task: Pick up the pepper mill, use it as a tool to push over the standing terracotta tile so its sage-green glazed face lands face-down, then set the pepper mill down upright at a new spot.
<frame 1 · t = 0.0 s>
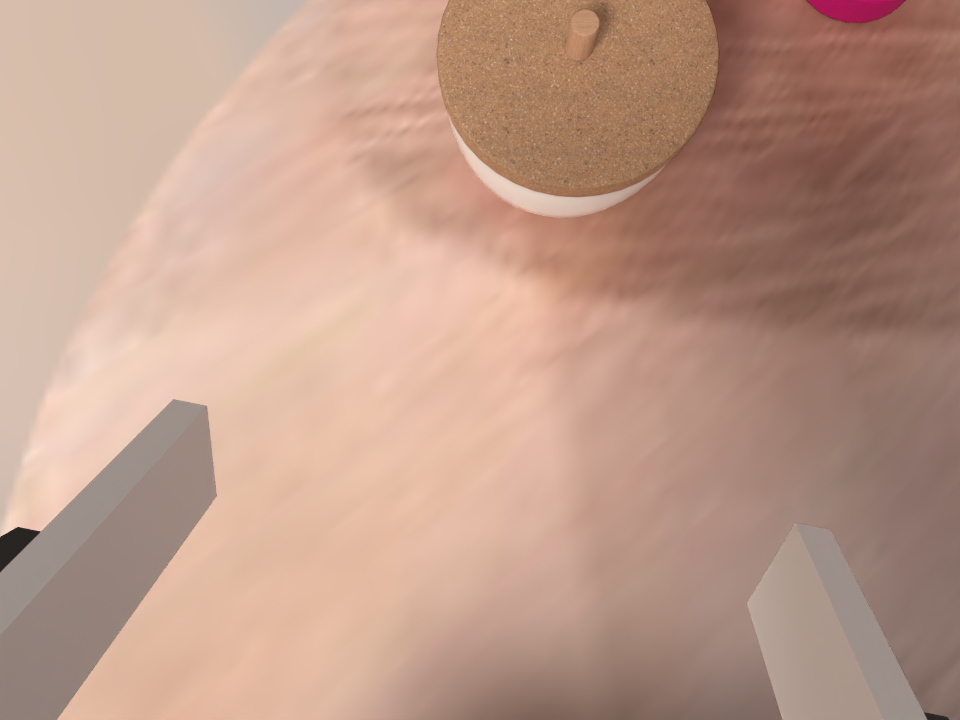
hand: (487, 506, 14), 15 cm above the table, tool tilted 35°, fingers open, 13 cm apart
lidded jar: (554, 144, 30), on the table
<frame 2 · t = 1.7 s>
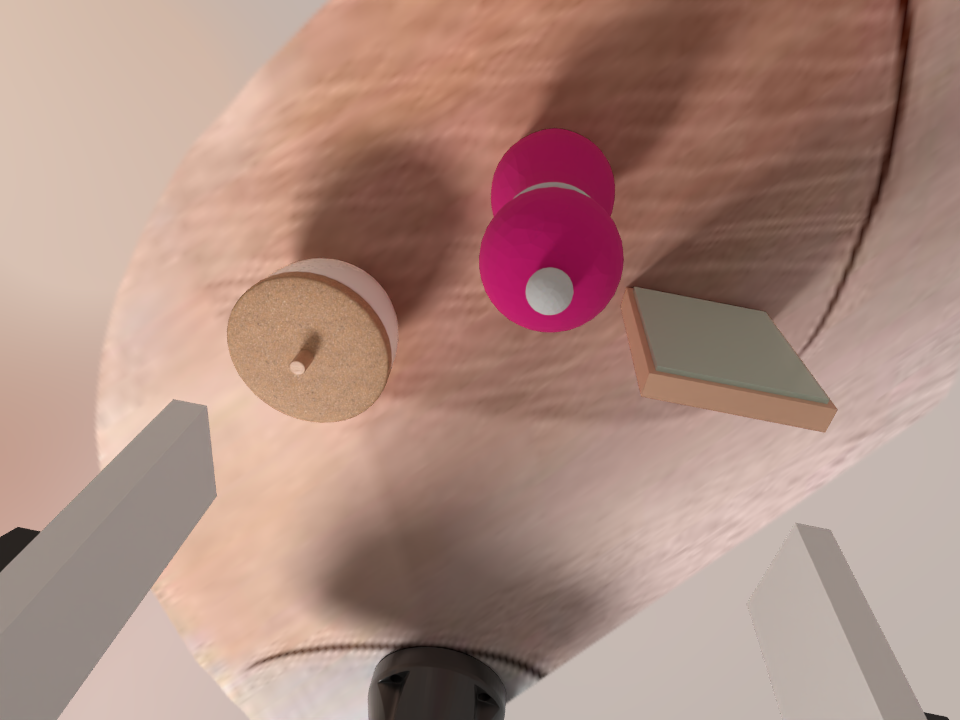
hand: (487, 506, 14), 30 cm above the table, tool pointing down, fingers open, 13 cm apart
tile: (693, 310, 42), on the table
lidded jar: (344, 305, 45), on the table
pepper mill: (552, 178, 39), on the table
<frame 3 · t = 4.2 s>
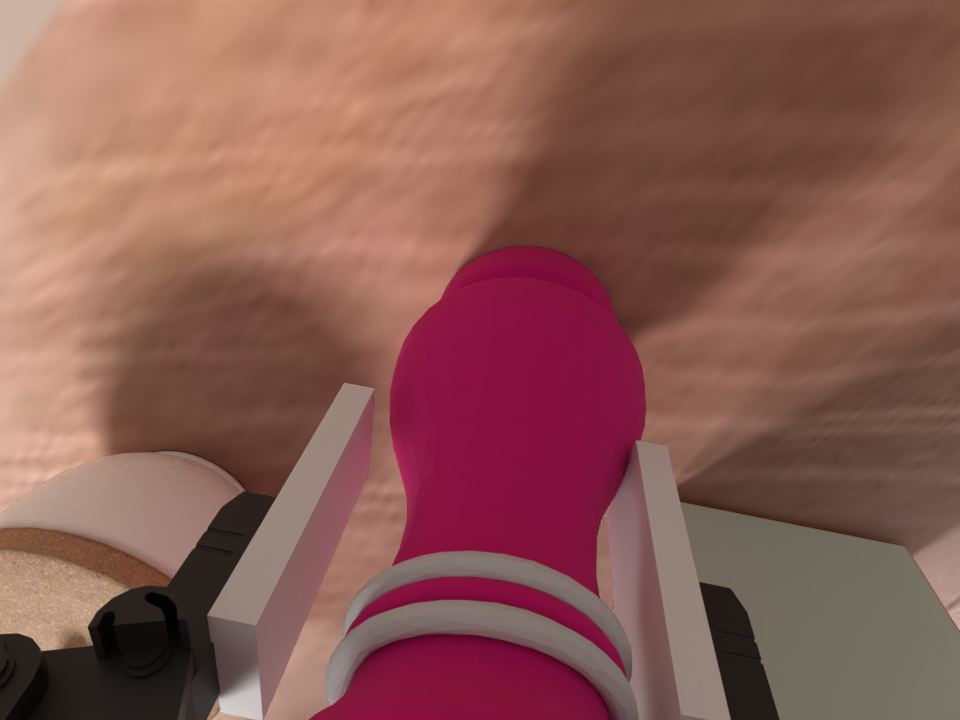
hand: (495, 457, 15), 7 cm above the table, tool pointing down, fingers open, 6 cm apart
tile: (773, 534, 24), on the table
lidded jar: (194, 499, 28), on the table
pepper mill: (525, 327, 21), on the table, touching gripper
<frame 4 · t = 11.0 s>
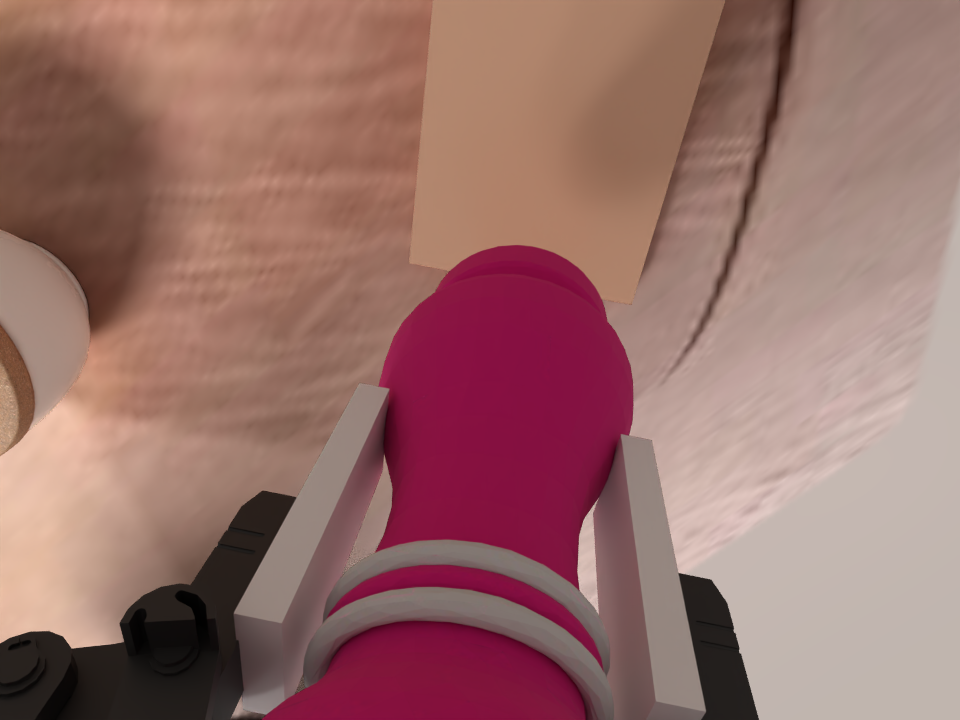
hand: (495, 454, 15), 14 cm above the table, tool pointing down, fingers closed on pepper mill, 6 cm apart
tile: (520, 277, 27), point 1 cm above the table, tilted 90°
lidded jar: (35, 291, 32), on the table
pepper mill: (517, 325, 21), point 7 cm above the table, touching gripper
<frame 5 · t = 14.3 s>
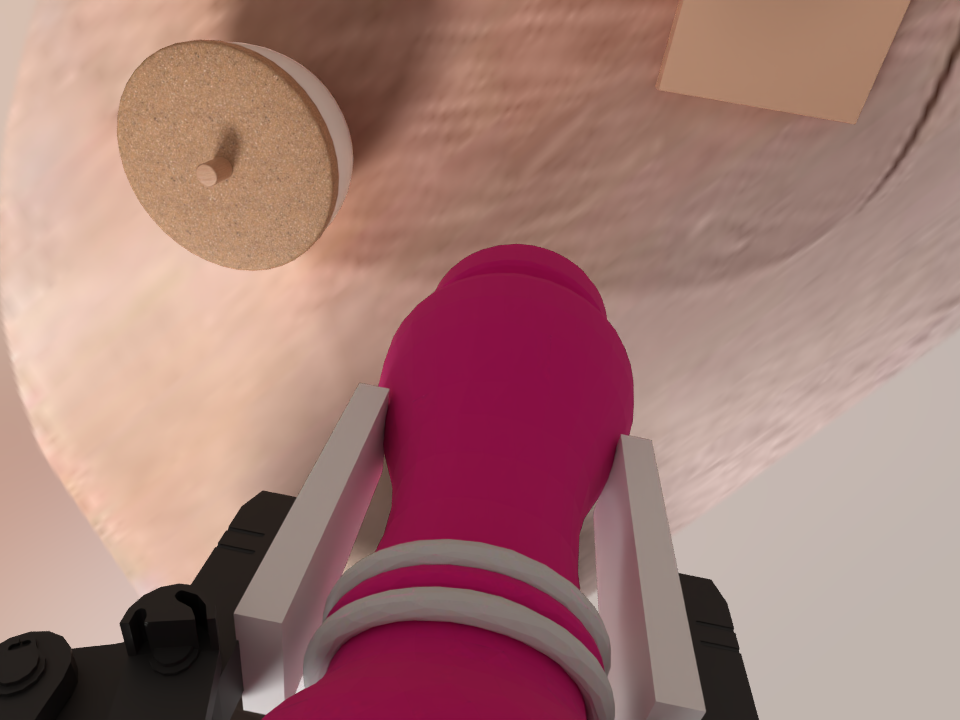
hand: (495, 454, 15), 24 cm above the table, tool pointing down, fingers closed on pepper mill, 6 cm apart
tile: (752, 105, 31), point 1 cm above the table, tilted 90°
lidded jar: (289, 136, 35), on the table
pepper mill: (517, 325, 21), point 16 cm above the table, touching gripper
when the fingers open (8 cm above the table, at t = 17.2 s): pepper mill drops 1 cm, on the table.
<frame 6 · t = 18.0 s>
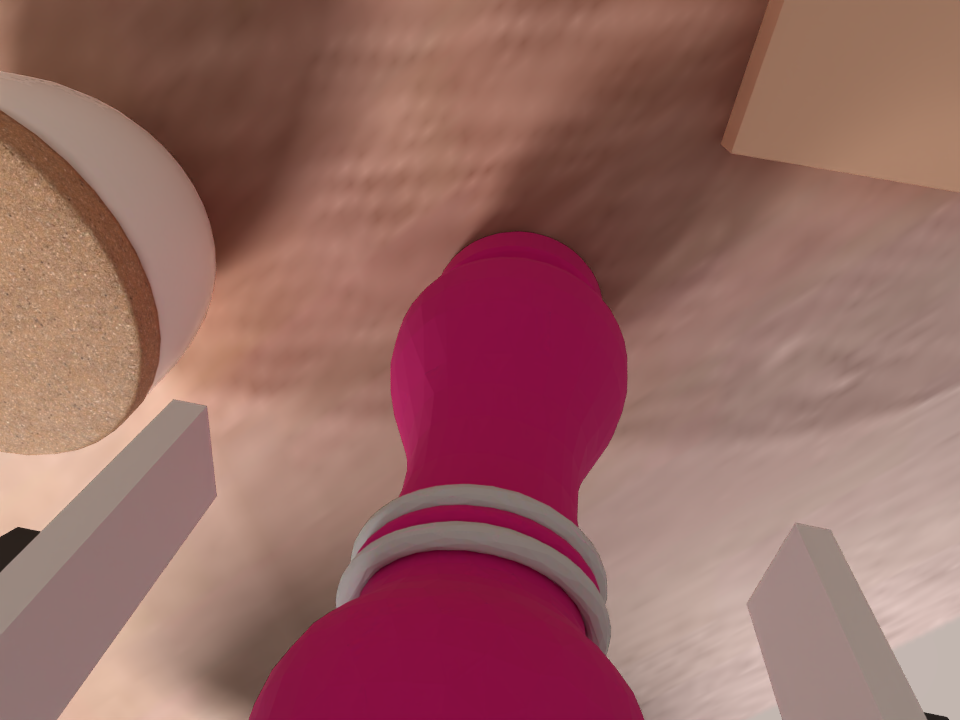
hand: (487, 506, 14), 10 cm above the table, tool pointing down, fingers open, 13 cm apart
tile: (891, 176, 18), point 1 cm above the table, tilted 90°
lidded jar: (129, 210, 22), on the table
pepper mill: (517, 308, 22), on the table
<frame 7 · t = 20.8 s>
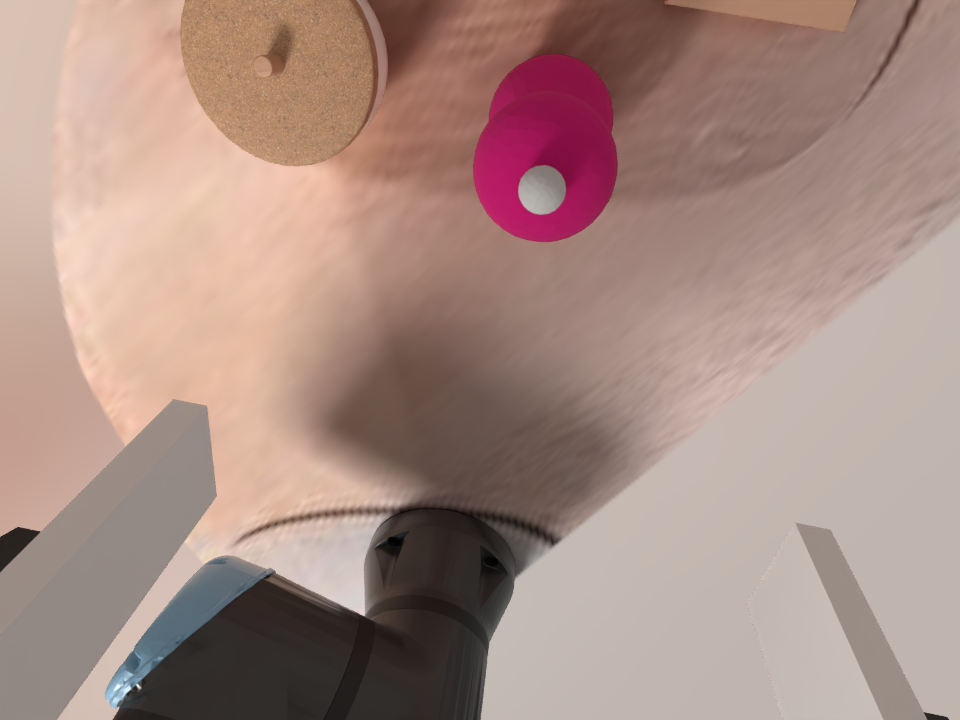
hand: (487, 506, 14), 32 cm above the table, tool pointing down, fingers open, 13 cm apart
tile: (751, 17, 34), point 1 cm above the table, tilted 90°
lidded jar: (326, 54, 39), on the table
pepper mill: (551, 111, 39), on the table
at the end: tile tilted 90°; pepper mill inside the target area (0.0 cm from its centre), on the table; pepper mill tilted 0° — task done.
